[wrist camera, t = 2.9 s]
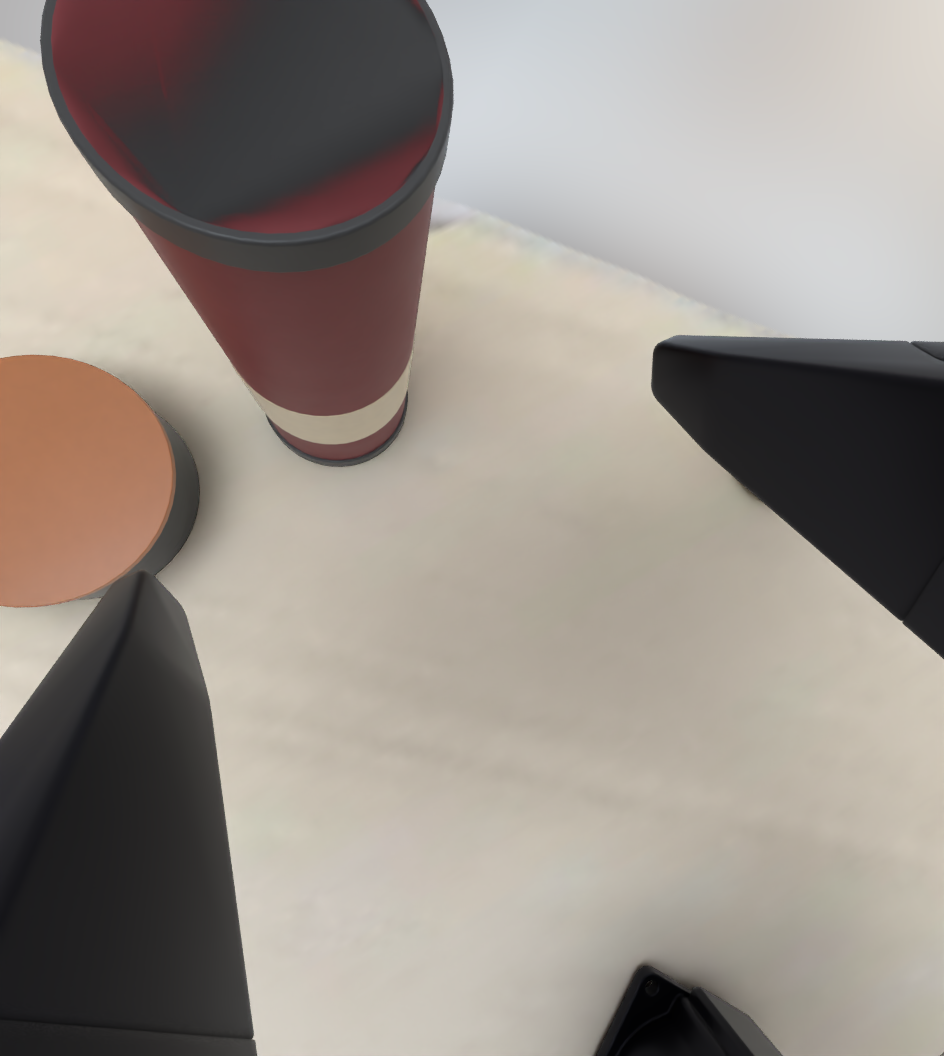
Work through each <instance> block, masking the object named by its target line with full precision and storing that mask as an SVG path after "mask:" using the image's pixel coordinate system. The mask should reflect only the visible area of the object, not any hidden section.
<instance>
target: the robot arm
mask: <svg viewBox="0 0 944 1056" xmlns="http://www.w3.org/2000/svg"><path fill="white" fill-rule="evenodd" d="M651 388H652V392H653V395H654V396H655V398H656V399H657V401H658V402H659V403H660V404H661V405H662V406H663V407H664V408H665V409H666V410H667V411H668V412H669V414H670V415H671V416H672V417H673V418H674V419H675V420H676V421H677V422H678V423H679V424H680V425H681V426H682V428H683V429H684V430H685V431H686V432H687V433H688V434H689V435H690V436H691V437H692V438H693V439H694V440H695V442H696V443H697V444H698V445H699V446H700V447H701V448H702V449H703V450H704V451H705V452H706V453H707V454H708V455H710V456H711V457H712V458H713V459H714V460H715V461H716V462H717V463H718V464H720V465H721V466H722V467H723V468H724V469H725V470H727V471H728V472H729V473H730V474H731V475H732V476H733V477H735V478H736V479H737V480H738V481H739V482H740V483H742V484H743V485H744V486H745V487H746V488H747V489H749V490H750V491H751V492H752V493H753V494H754V495H755V496H757V497H758V498H759V499H760V500H761V501H762V502H764V503H765V504H766V505H767V506H768V507H769V508H770V509H772V510H773V511H774V512H775V513H776V514H777V515H779V516H780V517H781V518H782V519H783V520H784V521H785V522H787V523H788V524H789V525H790V526H791V527H792V528H794V529H795V530H796V531H797V532H798V533H799V534H801V535H802V536H803V537H804V538H805V539H806V540H807V541H809V542H810V543H811V544H812V545H813V546H814V547H816V548H817V549H818V550H819V551H820V552H821V553H822V554H824V555H825V556H826V557H827V558H828V559H829V560H831V561H832V562H833V563H834V564H835V565H836V566H838V567H839V568H840V569H841V570H842V571H843V572H844V573H846V574H847V575H848V576H849V577H850V578H851V579H853V580H854V581H855V582H856V583H857V584H858V585H859V586H861V587H862V588H863V589H864V590H865V591H866V592H868V593H869V594H870V595H871V596H872V597H873V598H874V599H876V600H877V601H878V602H879V603H880V604H881V605H883V606H884V607H885V608H886V609H887V610H888V611H890V612H891V613H892V614H893V615H894V616H895V617H896V618H898V619H899V620H900V621H903V624H904V625H905V626H906V627H907V628H908V629H910V630H911V631H912V632H913V633H914V634H915V635H917V636H918V637H919V638H920V639H921V640H922V641H924V642H925V643H926V644H927V645H928V646H929V647H930V648H932V649H933V650H934V651H935V652H936V653H937V654H939V655H940V656H941V657H942V658H943V659H944V342H924V341H923V342H922V341H913V342H911V343H909V342H907V341H882V340H844V339H805V338H767V337H728V336H690V335H677V336H673V337H671V338H669V339H667V340H664V341H662V342H660V343H658V344H657V345H656V346H655V349H654V351H653V362H652V381H651ZM651 980H652V983H651V985H650V986H648V987H646V984H647V983H648V982H649V981H651ZM253 1036H254V1031H253V1024H252V1016H251V1009H250V1001H249V994H248V986H247V978H246V971H245V963H244V956H243V948H242V940H241V933H240V925H239V918H238V910H237V903H236V895H235V887H234V880H233V872H232V865H231V857H230V850H229V842H228V834H227V827H226V819H225V812H224V804H223V796H222V789H221V781H220V774H219V766H218V759H217V751H216V743H215V736H214V728H213V721H212V713H211V707H210V701H209V696H208V692H207V688H206V684H205V681H204V677H203V674H202V670H201V666H200V663H199V659H198V656H197V652H196V649H195V645H194V641H193V638H192V634H191V631H190V627H189V623H188V620H187V616H186V614H185V611H184V609H183V608H182V606H181V605H180V603H179V602H178V601H177V600H176V599H175V598H174V597H173V595H172V594H171V593H170V592H169V591H168V590H167V589H166V588H165V587H164V586H163V585H162V584H161V583H160V582H159V580H158V579H157V578H156V577H155V576H154V575H153V574H152V573H150V572H149V571H147V570H139V571H136V572H134V573H132V574H129V575H127V576H125V577H122V578H120V579H118V580H116V581H115V582H114V583H113V584H112V585H111V587H110V588H109V589H108V591H107V592H106V594H105V595H104V596H103V598H102V599H101V600H100V602H99V603H98V605H97V606H96V607H95V609H94V610H93V611H92V613H91V614H90V616H89V617H88V618H87V620H86V621H85V623H84V624H83V625H82V627H81V628H80V629H79V631H78V632H77V634H76V635H75V636H74V638H73V639H72V640H71V642H70V643H69V645H68V646H67V647H66V649H65V650H64V652H63V653H62V654H61V656H60V657H59V658H58V660H57V661H56V663H55V664H54V665H53V667H52V668H51V669H50V671H49V672H48V674H47V675H46V676H45V678H44V679H43V680H42V682H41V683H40V685H39V686H38V687H37V689H36V690H35V692H34V693H33V694H32V696H31V697H30V698H29V700H28V701H27V703H26V704H25V705H24V707H23V708H22V709H21V711H20V712H19V714H18V715H17V716H16V718H15V719H14V721H13V722H12V723H11V725H10V726H9V727H8V729H7V730H6V732H5V733H4V734H3V736H2V737H1V738H0V1056H257V1051H256V1043H255V1040H253V1039H252V1038H253ZM596 1056H783V1055H782V1054H781V1053H780V1052H779V1051H778V1050H777V1048H776V1047H775V1046H774V1045H773V1043H772V1042H771V1041H770V1040H769V1039H768V1038H767V1037H766V1036H765V1034H764V1033H763V1032H762V1031H761V1030H760V1028H759V1027H758V1026H757V1025H756V1024H755V1023H754V1021H753V1020H752V1019H751V1018H750V1017H749V1016H748V1015H747V1014H745V1013H743V1012H742V1011H740V1010H738V1009H737V1008H735V1007H733V1006H732V1005H730V1004H728V1003H727V1002H725V1001H723V1000H722V999H720V998H718V997H717V996H715V995H713V994H712V993H710V992H708V991H707V990H705V989H703V988H702V987H693V988H692V990H690V989H688V988H686V987H685V986H683V985H681V984H680V983H678V982H676V981H675V980H673V979H671V978H670V977H668V976H666V975H665V974H663V973H661V972H660V971H658V970H656V969H655V968H653V967H650V966H643V967H642V968H640V969H639V970H638V971H637V973H636V975H635V977H634V979H633V981H632V983H631V985H630V987H629V989H628V991H627V993H626V995H625V997H624V999H623V1001H622V1003H621V1005H620V1008H619V1010H618V1012H617V1014H616V1016H615V1018H614V1020H613V1022H612V1024H611V1026H610V1028H609V1030H608V1032H607V1034H606V1036H605V1039H604V1041H603V1043H602V1045H601V1047H600V1049H599V1051H598V1053H597V1055H596ZM940 1056H944V1052H943V1053H942V1054H941V1055H940Z"/></svg>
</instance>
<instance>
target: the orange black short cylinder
mask: <svg viewBox="0 0 944 1056" xmlns="http://www.w3.org/2000/svg"><path fill="white" fill-rule="evenodd" d="M198 504H199V480H198V474H197V470H196V466H195V463H194V460H193V458H192V455H191V453H190V451H189V449H188V447H187V446H186V444H185V442H184V441H183V439H182V438H181V437H180V435H179V434H178V433H177V432H176V430H175V429H174V428H173V427H172V426H171V425H170V424H169V423H168V422H166V421H165V420H164V419H163V418H162V417H160V416H159V415H158V414H156V413H155V412H154V411H153V410H152V409H151V408H150V406H149V405H148V404H147V403H146V402H145V401H144V400H143V399H142V398H141V397H140V396H139V395H138V394H137V393H136V392H135V391H134V390H133V389H131V388H130V387H129V386H127V385H126V384H125V383H123V382H122V381H120V380H119V379H118V378H116V377H114V376H112V375H111V374H109V373H107V372H105V371H103V370H101V369H99V368H96V367H94V366H92V365H89V364H87V363H83V362H80V361H76V360H73V359H68V358H62V357H56V356H46V355H22V356H11V357H5V358H0V606H6V607H41V606H48V605H55V604H61V603H65V602H69V601H73V600H77V599H92V598H99V597H103V596H104V595H105V594H106V592H107V591H108V589H109V588H110V587H111V585H112V584H113V583H114V582H115V581H116V580H118V579H120V578H122V577H125V576H127V575H129V574H132V573H134V572H136V571H139V570H147V571H149V572H150V573H152V574H153V575H155V574H156V573H158V572H159V571H160V570H161V569H162V568H164V567H165V566H166V565H167V564H168V563H169V562H170V561H171V560H172V559H173V558H174V556H175V555H176V554H177V553H178V552H179V550H180V549H181V547H182V546H183V544H184V543H185V541H186V540H187V538H188V536H189V534H190V532H191V530H192V527H193V524H194V521H195V518H196V515H197V510H198Z"/></svg>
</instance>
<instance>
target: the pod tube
mask: <svg viewBox="0 0 944 1056" xmlns="http://www.w3.org/2000/svg"><path fill="white" fill-rule="evenodd" d="M40 42H41V53H42V64H43V70H44V74H45V78H46V82H47V86H48V90H49V94H50V97H51V99H52V102H53V104H54V106H55V109H56V111H57V114H58V116H59V118H60V120H61V122H62V124H63V125H64V127H65V129H66V130H67V132H68V134H69V136H70V137H71V139H72V141H73V142H74V144H75V145H76V147H77V148H78V150H79V151H80V152H81V154H82V155H83V157H84V158H85V160H86V161H87V163H88V164H89V165H90V167H91V168H92V170H93V171H94V173H95V174H96V175H97V177H98V178H99V179H100V181H101V182H102V183H103V184H104V186H105V187H106V188H107V190H108V191H109V192H110V193H111V195H112V196H113V197H114V198H115V199H116V200H117V201H118V202H119V203H120V204H121V205H122V206H123V207H124V208H125V209H126V210H127V211H128V212H129V213H130V214H131V215H132V216H133V217H134V219H135V220H136V222H137V223H138V225H139V226H140V228H141V229H142V231H143V232H144V234H145V235H146V237H147V238H148V239H149V241H150V242H151V244H152V245H153V247H154V248H155V250H156V251H157V253H158V254H159V256H160V257H161V259H162V260H163V262H164V263H165V265H166V266H167V268H168V269H169V271H170V272H171V274H172V275H173V277H174V278H175V280H176V281H177V283H178V284H179V285H180V287H181V288H182V290H183V291H184V293H185V294H186V296H187V297H188V299H189V300H190V302H191V303H192V305H193V306H194V308H195V309H196V311H197V312H198V314H199V315H200V317H201V318H202V320H203V321H204V323H205V324H206V326H207V327H208V329H209V330H210V331H211V333H212V334H213V336H214V337H215V339H216V340H217V342H218V343H219V345H220V346H221V348H222V349H223V351H224V352H225V354H226V355H227V357H228V358H229V360H230V362H231V364H232V365H233V367H234V369H235V370H236V372H237V374H238V375H239V377H240V378H241V379H242V381H243V382H244V384H245V385H246V387H247V388H248V390H249V391H250V393H251V394H252V396H253V397H254V399H255V400H256V402H257V403H258V404H259V406H260V407H261V409H262V410H263V411H264V412H265V414H266V417H267V419H268V421H269V423H270V425H271V427H272V428H273V430H274V431H275V433H276V434H277V436H278V437H279V438H280V439H281V441H282V442H283V443H284V444H285V445H286V446H287V447H288V448H289V449H291V450H292V451H293V452H295V453H296V454H298V455H299V456H301V457H303V458H305V459H307V460H309V461H312V462H314V463H318V464H321V465H327V466H351V465H355V464H359V463H362V462H365V461H368V460H370V459H372V458H373V457H375V456H377V455H378V454H380V453H381V452H383V451H384V450H385V449H386V448H387V447H388V446H389V445H390V444H391V443H392V442H393V441H394V439H395V438H396V436H397V435H398V433H399V431H400V430H401V427H402V425H403V423H404V419H405V415H406V410H407V402H408V391H407V388H408V383H409V376H410V369H411V362H412V355H413V348H414V341H415V326H416V319H417V312H418V305H419V298H420V291H421V283H422V276H423V269H424V262H425V255H426V248H427V241H428V233H429V226H430V219H431V212H432V205H433V198H434V190H435V185H436V183H437V181H438V178H439V176H440V174H441V171H442V167H443V163H444V160H445V156H446V151H447V145H448V138H449V132H450V125H451V118H452V110H453V78H452V71H451V64H450V59H449V55H448V52H447V48H446V45H445V42H444V39H443V35H442V32H441V30H440V28H439V26H438V24H437V21H436V19H435V16H434V14H433V12H432V11H431V9H430V7H429V6H428V4H427V2H426V0H46V2H45V6H44V11H43V15H42V26H41V40H40Z"/></svg>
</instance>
